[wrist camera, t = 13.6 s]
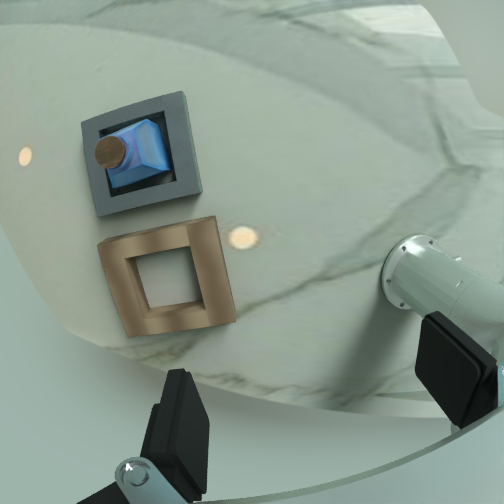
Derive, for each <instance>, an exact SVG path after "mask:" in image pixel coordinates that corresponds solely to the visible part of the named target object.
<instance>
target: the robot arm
mask: <svg viewBox="0 0 504 504" xmlns="http://www.w3.org/2000/svg"><path fill="white" fill-rule="evenodd" d="M382 288H383V291H384V294H385V296H386V298H387V299H388V300H389V301H390V302H391V303H392V304H393V305H394V306H396V307H397V308H400V309H406V310H408V309H413V310H414V311H415V312H417V313H418V314H419V315H420V316H421V317H422V318H423V320H422V323H421V331H420V339H419V346H418V353H417V359H416V365H415V374H416V376H417V377H418V379H419V380H420V381H421V382H422V384H423V385H424V386H425V388H426V389H427V390H428V391H429V393H430V394H431V395H432V397H433V398H434V399H435V401H436V402H437V403H438V405H439V406H440V407H441V409H442V410H443V411H444V413H445V414H446V415H447V417H448V418H449V419H450V421H451V434H452V435H450V436H448V437H447V438H444V439H443V440H441V441H439V442H437V443H435V444H432V445H430V446H428V447H426V448H424V449H422V450H420V451H417V452H415V453H413V454H411V455H408V456H406V457H403V458H401V459H399V460H396V461H394V462H391V463H388V464H386V465H383V466H380V467H378V468H375V469H372V470H369V471H366V472H363V473H360V474H357V475H353V476H350V477H347V478H343V479H340V480H336V481H332V482H329V483H325V484H321V485H317V486H313V487H308V488H303V489H299V490H293V491H288V492H282V493H276V494H270V495H263V496H256V497H249V498H240V499H230V500H229V499H228V500H218V501H208V502H197V503H193V501H201V500H202V494H205V493H206V490H207V467H208V445H209V418H208V416H207V413H206V411H205V408H204V406H203V403H202V401H201V398H200V396H199V393H198V391H197V388H196V386H195V383H194V381H193V378H192V375H191V373H190V372H186V371H185V369H183V368H182V369H173V370H169V371H168V374H167V378H166V382H165V385H164V389H163V393H162V397H161V401H160V403H159V404H154V406H153V408H152V411H151V415H150V419H149V423H148V426H147V430H146V434H145V438H144V441H143V446H142V450H141V454H140V457H132V458H129V459H127V460H125V461H123V462H122V463H120V465H119V466H118V467H117V469H116V471H115V480H116V481H115V482H114V483H112V484H110V485H109V486H107V487H105V488H103V489H102V490H100V491H98V492H97V493H95V494H93V495H91V496H89V497H87V498H86V499H84V500H82V501H80V502H78V503H77V504H504V286H503V285H501V284H499V283H497V282H495V281H494V280H492V279H490V278H488V277H486V276H484V275H483V274H481V273H479V272H477V271H475V270H473V269H472V268H470V267H468V266H466V265H464V264H462V263H461V258H460V256H457V257H453V258H451V257H449V256H447V255H445V254H444V252H443V250H442V247H441V246H440V244H439V243H438V242H437V241H436V240H435V239H434V238H432V237H430V236H427V235H424V234H416V235H411V236H409V237H407V238H405V239H403V240H402V241H401V242H399V243H398V244H397V245H396V246H395V247H394V249H393V250H392V251H391V253H390V254H389V256H388V258H387V260H386V262H385V265H384V268H383V273H382ZM489 353H491V354H489Z"/></svg>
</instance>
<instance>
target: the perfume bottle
mask: <svg viewBox="0 0 504 504" xmlns="http://www.w3.org/2000/svg"><path fill="white" fill-rule="evenodd" d="M99 140H100V141H99V142H98V144H97V146H96V148H95V159H96V161H97V163H98V164H99V165H100V166H101V167H103V168H107V170H108V174H109V177H110V180H111V184H112V187H113V188H117V187H122V186H127V185H131V184H133V183H136V182H139V181H141V180H144V179H147V178H149V177H152V176H155V175H158V174H160V173H163V172H166V171H169V170H172V167H171V164H170V160H169V157H168V154H167V150H166V147H165V143H164V140H163V136H162V133H161V129H160V126H159V125H157V124H155V123H153V122H151V121H150V120H148V119H145V120H143V121H140V122H138V123H135V124H133V125H130V126H128V127H126V128H123V129H121V130H119V131H116V132H114V133H112V134H110V135H107V136H105V137H103V138H101V139H99Z"/></svg>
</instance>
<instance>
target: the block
mask: <svg viewBox="0 0 504 504" xmlns="http://www.w3.org/2000/svg"><path fill="white" fill-rule="evenodd" d="M161 116H165V118H166V124H167V130H168V136H169V141H170V147H171V152H172V158H173V163H174V169H175V174H176V179H177V181H174V182H169V183H165V184H161V185H157V186H153V187H149V188H145V189H141V190H137V191H133V192H129V193H125V194H121V195H119V193H118V188H113V187H112V184H111V180H110V177H109V174H108V170H107V168H103V167H101V166H100V165H99V164H98V163H97V161H96V159H95V148H96V146H97V144H98V142H99V141H100V140H99V139H101V138H103V137H105V136H107V135H108V132H111V131H114V130H117V129H120V128H123V127H126V126H129V125H133V124H135V123H138V122H140V121H143V120H145V119H148V120H150V119H153V118H157V117H161ZM81 128H82V136H83V143H84V149H85V156H86V162H87V168H88V173H89V178H90V184H91V189H92V193H93V198H94V203H95V207H96V211H97V216H98V217H100V216H104V215H108V214H111V213H115V212H119V211H123V210H127V209H131V208H135V207H139V206H143V205H147V204H152V203H156V202H160V201H165V200H169V199H173V198H178V197H183V196H187V195H192V194H197V193H201V192H202V191H203V190H202V185H201V180H200V174H199V169H198V164H197V158H196V153H195V148H194V142H193V136H192V131H191V125H190V119H189V113H188V107H187V101H186V96H185V94H184V93H183V91H178V92H174V93H170V94H166V95H162V96H159V97H155V98H151V99H148V100H144V101H141V102H138V103H134V104H131V105H128V106H125V107H122V108H119V109H116V110H113V111H110V112H107V113H104V114H101V115H99V116H96V117H93V118H91V119H88V120H86V121H83V122H81Z"/></svg>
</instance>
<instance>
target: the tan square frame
mask: <svg viewBox="0 0 504 504" xmlns="http://www.w3.org/2000/svg"><path fill="white" fill-rule="evenodd" d="M184 246H190V248H191V252H192V256H193V261H194V265H195V269H196V273H197V277H198V281H199V285H200V289H201V293H202V297H203V300H200V301H194V302H188V303H182V304H176V305H169V306H163V307H156V308H150V307H149V304H148V301H147V298H146V295H145V292H144V289H143V286H142V282H141V279H140V276H139V272H138V269H137V265H136V262H135V258H134V256H139V255H144V254H149V253H154V252H159V251H164V250H169V249H174V248H179V247H184ZM97 248H98V252H99V255H100V258H101V262H102V265H103V268H104V272H105V275H106V278H107V281H108V284H109V287H110V290H111V293H112V296H113V299H114V302H115V304H116V307H117V310H118V313H119V315H120V318H121V321H122V323H123V326H124V328H125V331H126V334H127V336H128V337H135V336H144V335H152V334H160V333H168V332H175V331H183V330H190V329H196V328H203V327H210V326H216V325H222V324H228V323H234V322H236V313H235V306H234V302H233V297H232V293H231V288H230V283H229V279H228V274H227V269H226V265H225V260H224V255H223V251H222V246H221V241H220V236H219V231H218V226H217V221H216V216H210V217H205V218H200V219H195V220H190V221H185V222H180V223H175V224H171V225H166V226H161V227H156V228H152V229H147V230H143V231H138V232H134V233H129V234H125V235H121V236H116V237H112V238H108V239H106V240H104V241H102V242H101V243H99V244H98V245H97Z"/></svg>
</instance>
